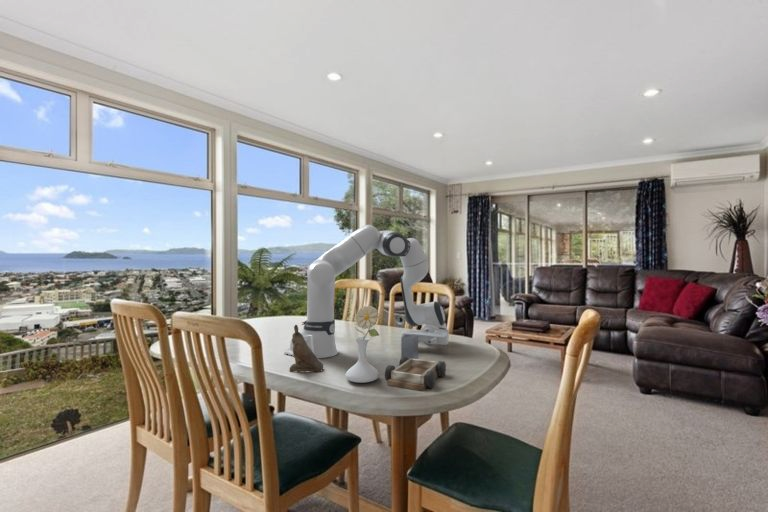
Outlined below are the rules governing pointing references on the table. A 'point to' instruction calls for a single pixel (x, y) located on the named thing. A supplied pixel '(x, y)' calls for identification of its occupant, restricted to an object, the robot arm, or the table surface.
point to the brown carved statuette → (303, 355)
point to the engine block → (409, 346)
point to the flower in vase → (364, 347)
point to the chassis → (414, 373)
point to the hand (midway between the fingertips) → (419, 340)
